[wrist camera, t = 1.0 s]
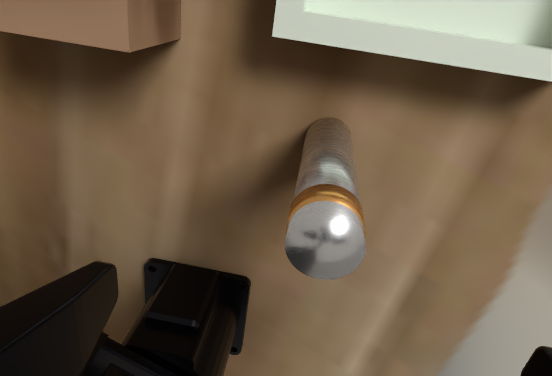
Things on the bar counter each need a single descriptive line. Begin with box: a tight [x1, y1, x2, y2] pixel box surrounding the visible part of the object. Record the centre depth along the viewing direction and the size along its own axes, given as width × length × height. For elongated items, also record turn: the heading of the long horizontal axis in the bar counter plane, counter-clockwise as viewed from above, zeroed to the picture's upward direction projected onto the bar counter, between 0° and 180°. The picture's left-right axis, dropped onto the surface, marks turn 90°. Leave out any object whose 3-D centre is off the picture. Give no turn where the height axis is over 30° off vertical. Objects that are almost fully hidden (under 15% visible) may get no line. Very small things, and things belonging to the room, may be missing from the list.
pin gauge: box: [285, 117, 366, 279], centre depth 14 cm, size 2×2×9 cm
